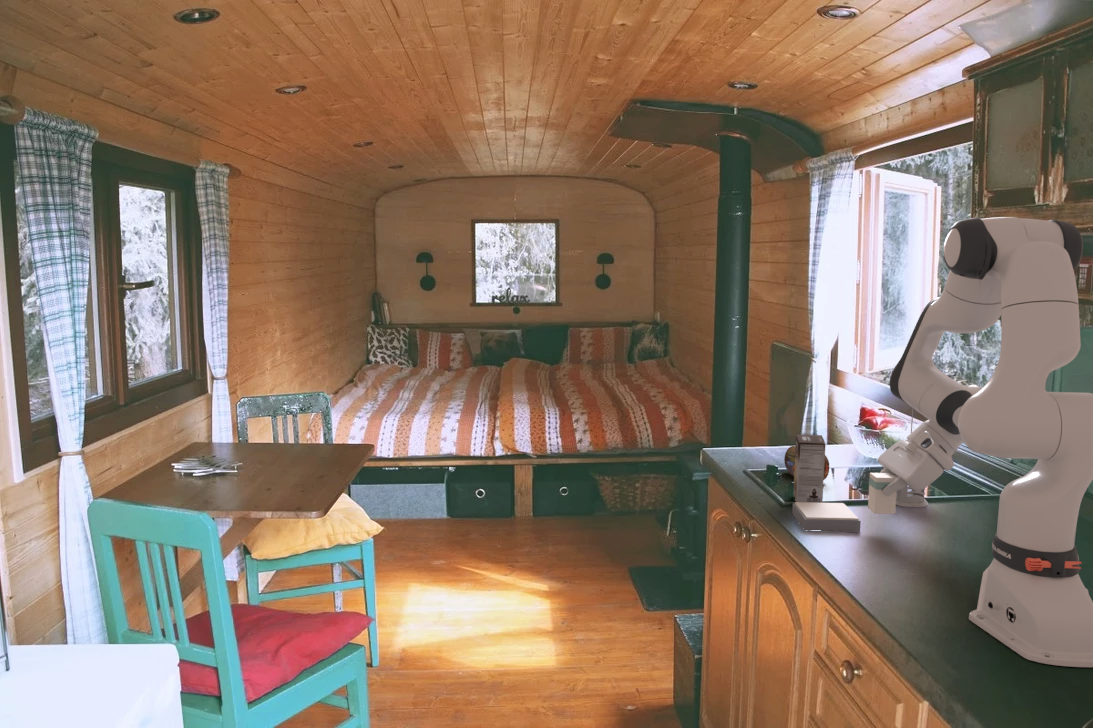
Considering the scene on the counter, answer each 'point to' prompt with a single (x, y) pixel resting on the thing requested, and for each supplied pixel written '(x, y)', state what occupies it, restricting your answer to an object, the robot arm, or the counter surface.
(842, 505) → the podium
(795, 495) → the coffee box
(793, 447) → the tin
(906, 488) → the french press
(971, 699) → the counter surface
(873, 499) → the carton
